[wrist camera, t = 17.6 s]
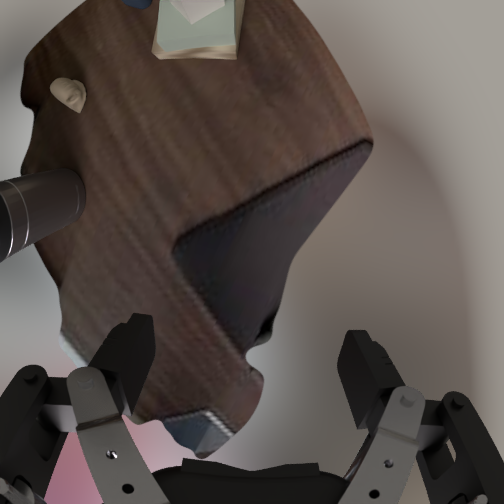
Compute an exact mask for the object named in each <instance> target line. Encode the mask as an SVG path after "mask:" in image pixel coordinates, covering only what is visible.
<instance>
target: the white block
mask: <svg viewBox="0 0 504 504" xmlns="http://www.w3.org/2000/svg"><path fill="white" fill-rule="evenodd" d="M170 2H171V4H172V5H173V6H174V7H175V8H176V9H177V10H178V11H179V12H180V13H181V14H182V15H183V16H184V17H185V18H186V19H187V20H188V21H189V22H190V23H191V25H192V24H194V23H196V22H197V21H199V20H200V19H202V18H204V17H205V16H207V15H209V14H211V13H212V12H214V11H216V10H218V9H219V8H221V7H223V6H225V2H224V0H170Z"/></svg>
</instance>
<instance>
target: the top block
mask: <svg viewBox="0 0 504 504" xmlns="http://www.w3.org/2000/svg"><path fill="white" fill-rule="evenodd" d="M224 2H225V6H223V7H221V8H219V9H218V10H216V11H214V12H212V13H211V14H209V15H207V16H205V17H204V18H202V19H200V20H199V21H197V22H196V23H194V24H192V25H191V23H190V22H189V21H188V20H187V19H186V18H185V17H184V16H183V15H182V14H181V13H180V12H179V11H178V10H177V9H176V8H175V7H174V6H173V5H172V4H171V2H170V0H160V5H159V16H158V29H157V43H158V44H159V45H160V46H161V47H162V49H163V50H164V51H165V52H169V51H176V50H183V49H191V48H201V47H211V46H226V45H236V2H235V0H224Z"/></svg>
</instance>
